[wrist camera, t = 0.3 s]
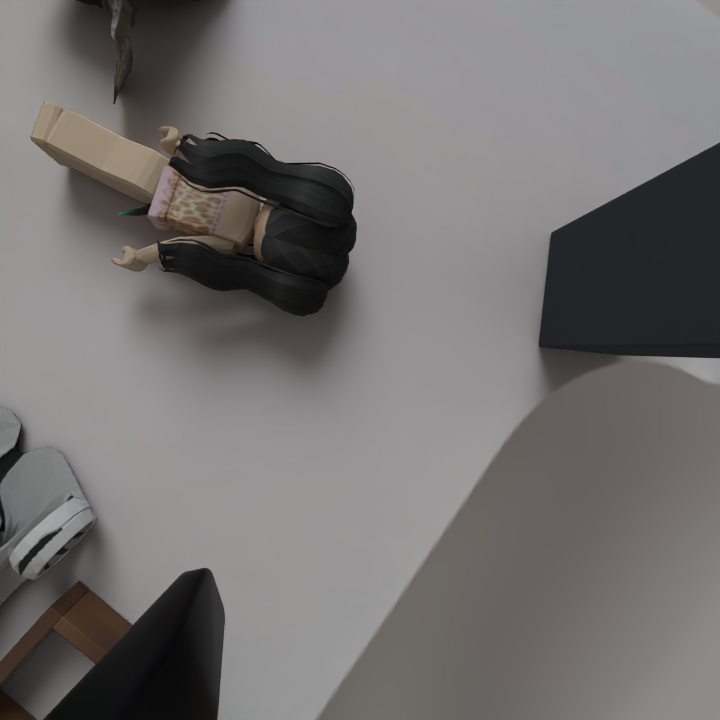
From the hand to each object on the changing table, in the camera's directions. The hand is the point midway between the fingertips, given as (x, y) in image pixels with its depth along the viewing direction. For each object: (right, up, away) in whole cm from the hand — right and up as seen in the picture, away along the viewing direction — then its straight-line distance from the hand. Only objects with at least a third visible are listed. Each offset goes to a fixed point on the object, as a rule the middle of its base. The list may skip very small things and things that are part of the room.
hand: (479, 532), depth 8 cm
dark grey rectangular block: (+10, +6, +17) cm, 21 cm away
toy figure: (-10, +10, +16) cm, 21 cm away
